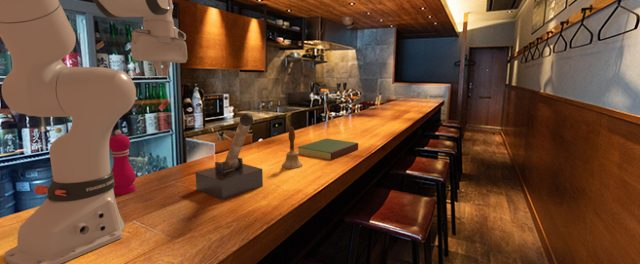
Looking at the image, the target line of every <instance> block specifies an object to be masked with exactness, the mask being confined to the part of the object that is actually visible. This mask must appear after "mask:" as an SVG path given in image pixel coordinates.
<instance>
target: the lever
mask: <svg viewBox="0 0 640 264" xmlns="http://www.w3.org/2000/svg"><path fill="white" fill-rule="evenodd" d="M253 122H254V117H253V115H252V114H251V113H249V112H246V113H245V112H244V113H242V114H241V115H240V117H239V123H238V125H237V127H236V131H235V133H234V136H233V139H232V141H231V144H230V147H229V149H228V151H227V155H226V158H225V159H224V161H222V162H221V161H220V163H223V170H224V171H227V170H230V169H234V168H238V167H239V161H238V159H237V158H239V155H240V153H241V150H242V148H243V145H244V144H245V140H246V138H247V135H248V133H249V130H250V128H251V125H252V124H253Z"/></svg>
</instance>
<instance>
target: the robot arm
mask: <svg viewBox="0 0 640 264" xmlns="http://www.w3.org/2000/svg"><path fill="white" fill-rule="evenodd" d="M92 2H93V3H94V5H95V7H96V8H97V9H98V10H99V12H100V13H101V14H103V15H104V16H105V17H106V18H108V19H119V18H129V17H130V18H137V17H138V18H139V17H140V18H141V17H142V18H143V19H142V25H143V29H141V28H135V29H134V30H132V32H131V43H130V44H131V46H130V48H131V49H130V52H131V53H130V54H131V58H132V59H133V61H136V62H137V61H138V62H140V61H141V62H152V63H153V67H154V69H155V70H156V73H157V74H156V75H157V76H158V77H169V70H170V68H171V64H174V63H176V64H185V63H186V62H187V60H188V49H187V42H186V39H187V34H186V33H184V32H183V31H181V29H178V28H177V27H176V26H175V21H174V19H173V10H174V8H173V0H92ZM0 38H1V41H2V43H4V46H5V47H6V49H7V51H8V52H9V55H10V58H11V62H12V63H11V64H12V68H11V71H10V72H9V73H7V75H6V76H5V78H4V79H3V81H2V83H1V90H0V91H1V96H2V100H3V101H4V102H5V104H6V105H7V107H8V108H9V109H10V110H12V111H13V112H15V113H17V114H23V115H26V116H27V115H28V116H34V117H40V118H60V117H61V118H63V117H64V118H67V117H68V118H71V125H70V129H69V131H68V132H66V133H64V134H61V136H59V137H57V138H56V139H54V141H53V142H52V143H51V145H50V147H49V153H48V154H49V159H50V165H51V172H52V173H51V174H52V180H51V181H50V184H49V186H47V185H41V184H38V185H36V186H35V187H34V190H33V192H34V194H36V195H41V196H46V199H45V200H44V202H43V203H41V204H40V206H39V207H37V209H36V210H35V211H34V212H33V213H32V214H31V215H30V216H29V217H27V219H26V220H25V221H24V222H22V223H21V225H20V226H19V228H18V232H17V243H16V244H17V245H16V246H14V247H12V248H10V249H8V250H6V251H5V253H4V260H5V262H6V263H7V264H64V263H65V262H68V261H70V260H72V259H75V258H78V257H80V256H82V255H85V254H87V253H90V252H92V251H94V250H96V249H99V248H101V247H104V246H106V245H108V244H110V243H113V242H115V241H117V240H120V239H122V238H123V237H124V233H123V230H124V229H125V226H126V225H125V222H124V220H123V218H122V216H121V214H120V211H119V206H118V204H117V201H116V196H115V194H114V190H113V189H114V186H115V184H114V176H113V172H112V168H111V159H110V148H109V140H110V138H111V135H112V132H113V129H114V127H115V125H116V124H117V123H118V121H119V120H120V118H122V117H123V116H124V115H125V114H127V113H128V112H129V111H130V110H131V109H132V107H133V106H134V104H135V102H136V99H137V88H136V86H135V82H134V81H133V80H132V78H131V77H130V76H129V74H128V73H126V72H125V71H122V70H118V69H114V68H109V67H101V66H67V65H66V64H65V63H64V61H63V60H62V59H64V58H66V57H67V56H68V55H70V53H72V51H73V50H74V48H75V46H76V44H77V43H76V41H77V38H76V33H75V31H74V29H73V27H72V25H71V23H70V21H69V19H68V16H67V14H66V13H65V11H64V8H63V6H62V4H61V3H60V1H59V0H0ZM162 66H163V67H162Z"/></svg>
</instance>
